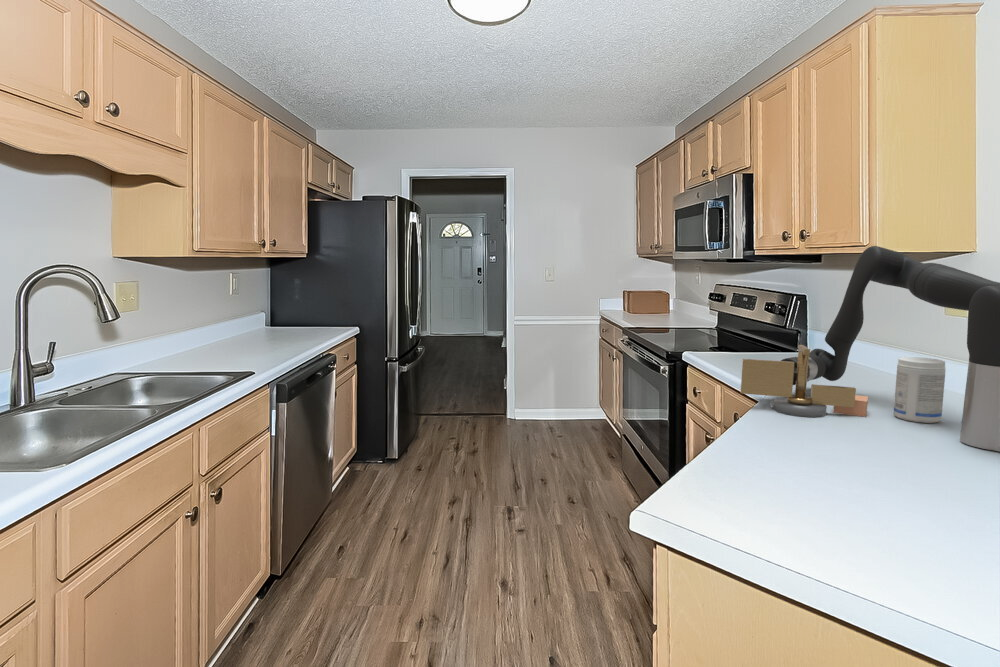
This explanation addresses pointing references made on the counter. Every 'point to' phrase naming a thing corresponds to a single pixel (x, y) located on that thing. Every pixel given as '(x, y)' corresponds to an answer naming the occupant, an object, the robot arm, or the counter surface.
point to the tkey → (791, 382)
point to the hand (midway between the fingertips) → (763, 377)
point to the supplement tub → (919, 389)
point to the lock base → (799, 408)
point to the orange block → (858, 408)
